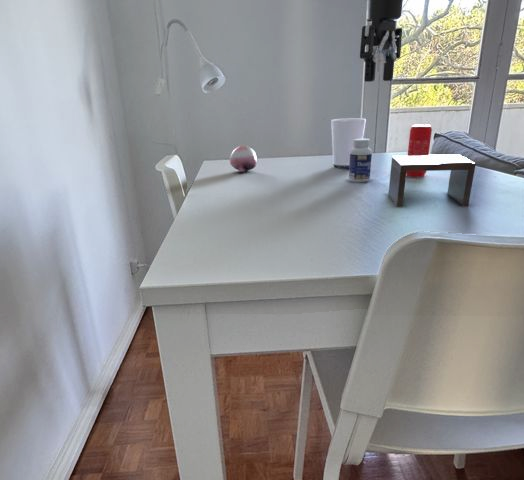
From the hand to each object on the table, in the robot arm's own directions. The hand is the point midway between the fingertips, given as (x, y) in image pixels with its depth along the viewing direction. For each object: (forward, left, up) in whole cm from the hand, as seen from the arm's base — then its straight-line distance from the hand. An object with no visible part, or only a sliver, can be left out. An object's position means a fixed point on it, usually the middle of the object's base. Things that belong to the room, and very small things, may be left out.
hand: (378, 81), depth 109 cm
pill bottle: (+3, -1, -22) cm, 23 cm away
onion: (+35, -18, -22) cm, 45 cm away
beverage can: (-12, -6, -22) cm, 26 cm away
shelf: (-9, +22, -22) cm, 33 cm away
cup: (+5, -23, -22) cm, 32 cm away
